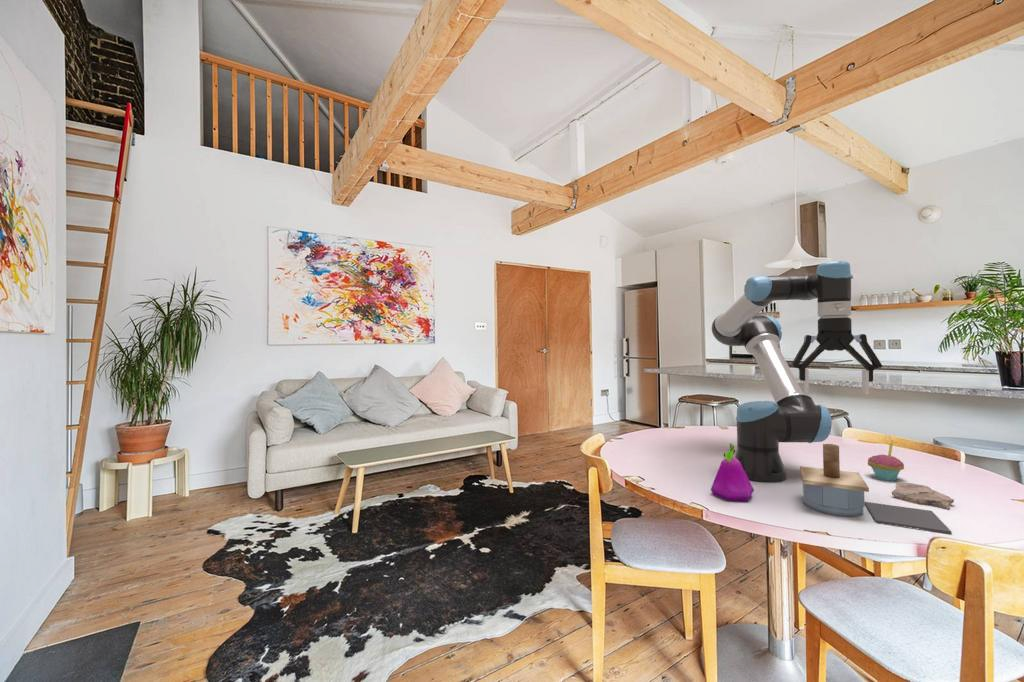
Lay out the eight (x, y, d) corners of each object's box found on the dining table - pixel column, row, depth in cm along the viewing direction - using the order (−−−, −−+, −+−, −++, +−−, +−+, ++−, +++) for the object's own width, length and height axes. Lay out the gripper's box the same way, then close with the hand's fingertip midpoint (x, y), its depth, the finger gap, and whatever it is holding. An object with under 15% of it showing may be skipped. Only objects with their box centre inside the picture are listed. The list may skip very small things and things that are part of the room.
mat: (875, 522, 101) (875, 520, 101) (864, 503, 112) (864, 501, 112) (951, 534, 94) (951, 531, 94) (931, 513, 105) (931, 510, 105)
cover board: (803, 483, 108) (802, 448, 108) (799, 469, 120) (799, 437, 120) (869, 491, 102) (868, 454, 102) (858, 476, 113) (858, 442, 113)
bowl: (805, 510, 108) (804, 483, 108) (801, 495, 119) (801, 470, 119) (867, 520, 102) (867, 491, 102) (858, 502, 113) (857, 476, 113)
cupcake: (890, 474, 135) (889, 436, 135) (912, 483, 126) (911, 442, 126) (861, 473, 136) (860, 436, 136) (881, 482, 127) (880, 442, 127)
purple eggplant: (703, 490, 125) (702, 439, 125) (738, 488, 126) (737, 437, 126) (725, 504, 114) (724, 448, 114) (764, 502, 115) (762, 447, 115)
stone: (955, 500, 114) (955, 490, 114) (952, 513, 106) (952, 502, 106) (897, 489, 123) (897, 479, 123) (890, 500, 115) (890, 490, 115)
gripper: (784, 318, 120) (785, 393, 121) (896, 315, 110) (897, 396, 111) (779, 319, 127) (780, 389, 128) (885, 315, 117) (886, 392, 117)
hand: (835, 393), depth 119 cm, fingers open, 13 cm apart
